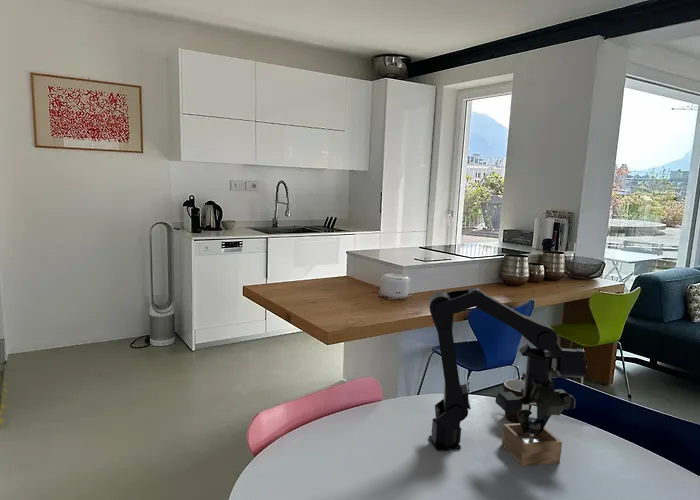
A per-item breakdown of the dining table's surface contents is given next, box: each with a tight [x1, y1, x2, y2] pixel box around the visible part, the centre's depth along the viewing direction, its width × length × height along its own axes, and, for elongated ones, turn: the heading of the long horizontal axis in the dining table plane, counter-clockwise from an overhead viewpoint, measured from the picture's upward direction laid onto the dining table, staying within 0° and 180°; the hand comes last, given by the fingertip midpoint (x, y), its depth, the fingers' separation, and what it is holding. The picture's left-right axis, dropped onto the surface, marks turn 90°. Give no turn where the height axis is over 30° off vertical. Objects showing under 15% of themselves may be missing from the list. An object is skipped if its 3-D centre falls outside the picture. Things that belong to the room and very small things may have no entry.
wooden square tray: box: [501, 423, 563, 467], centre depth 125 cm, size 10×10×6 cm
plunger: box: [519, 416, 543, 443], centre depth 124 cm, size 7×7×7 cm
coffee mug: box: [502, 378, 533, 424], centre depth 144 cm, size 12×9×10 cm
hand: (531, 432), depth 124 cm, fingers closed on plunger, 4 cm apart
